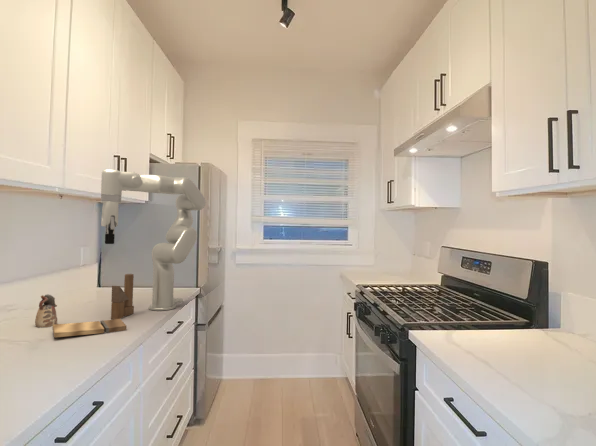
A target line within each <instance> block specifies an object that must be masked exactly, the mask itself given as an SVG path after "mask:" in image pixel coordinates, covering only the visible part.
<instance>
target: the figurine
mask: <svg viewBox="0 0 596 446" xmlns="http://www.w3.org/2000/svg"><path fill="white" fill-rule="evenodd" d="M40 298H41V300H40V301H39V304H38V309H37V312H36V315H35V320H34V324H35V327H36V328H50V327H53V325H54V324H58V315H57V309H56V307H58V304H56V302H55V301H56V300H55V299H56V298H55V297H54V296H53V295H52V294H48V293H47V294H45V295H43V294H42V295H40Z"/></svg>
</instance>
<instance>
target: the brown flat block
mask: <svg viewBox="0 0 596 446" xmlns="http://www.w3.org/2000/svg"><path fill="white" fill-rule="evenodd" d="M99 322H100V323H101V325H102V326H103V328H104V333H105V334H109V333H116V332H123V331H127V325H126V323H124V321H123V320H122V318H121V319H106V320H100V321H99Z"/></svg>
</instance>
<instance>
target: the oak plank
mask: <svg viewBox="0 0 596 446" xmlns="http://www.w3.org/2000/svg"><path fill="white" fill-rule="evenodd" d="M100 322H101V321H99V320H95V321H83V322H70V323H57V324H54V325H53V326H52V332H53V337H54V338H63V337H74V336H84V335H85V336H86V335H93V334H94V335H97V334H104V333H105V331H104V328H103V326H102V325H101V323H100Z"/></svg>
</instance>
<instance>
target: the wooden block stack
mask: <svg viewBox="0 0 596 446" xmlns="http://www.w3.org/2000/svg"><path fill="white" fill-rule="evenodd" d="M123 289H124V290H123ZM123 289H122V288H121V286H120V285H112V286H111V308H110V309H111V310H110V320H113V319H121V320H122V319H123V318H124V317H128V316H130V315H133V314H134V312H135V306H134V304H133V302H134V301H133V299H134V297H133V296H134V274H133V273H125V274H124V286H123Z"/></svg>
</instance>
